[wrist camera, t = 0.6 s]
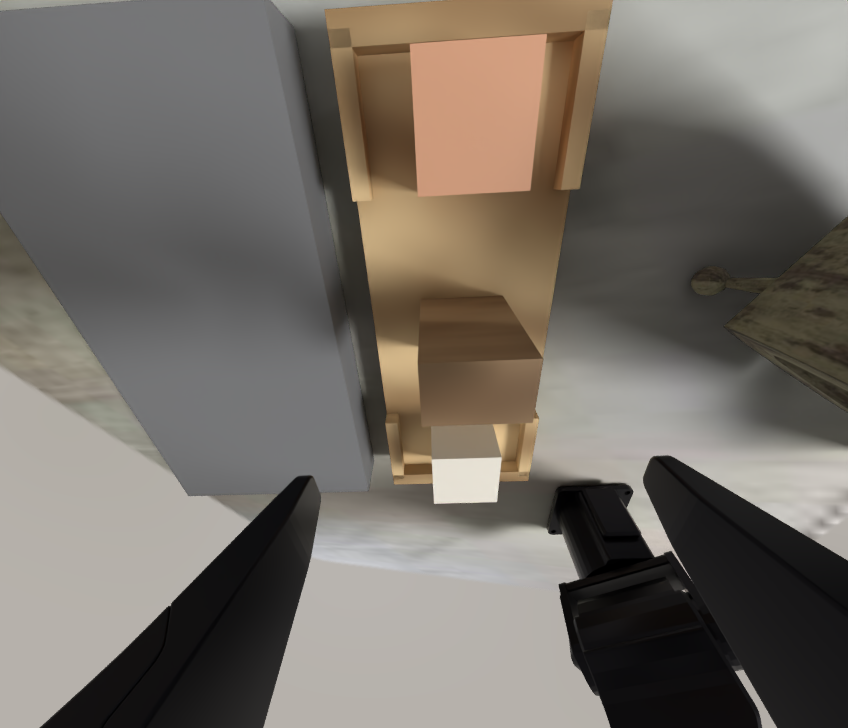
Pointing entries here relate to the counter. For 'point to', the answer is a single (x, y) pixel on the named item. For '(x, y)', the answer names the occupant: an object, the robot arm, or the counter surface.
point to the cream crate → (465, 464)
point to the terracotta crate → (476, 113)
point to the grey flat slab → (188, 231)
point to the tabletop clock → (797, 315)
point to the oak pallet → (461, 223)
